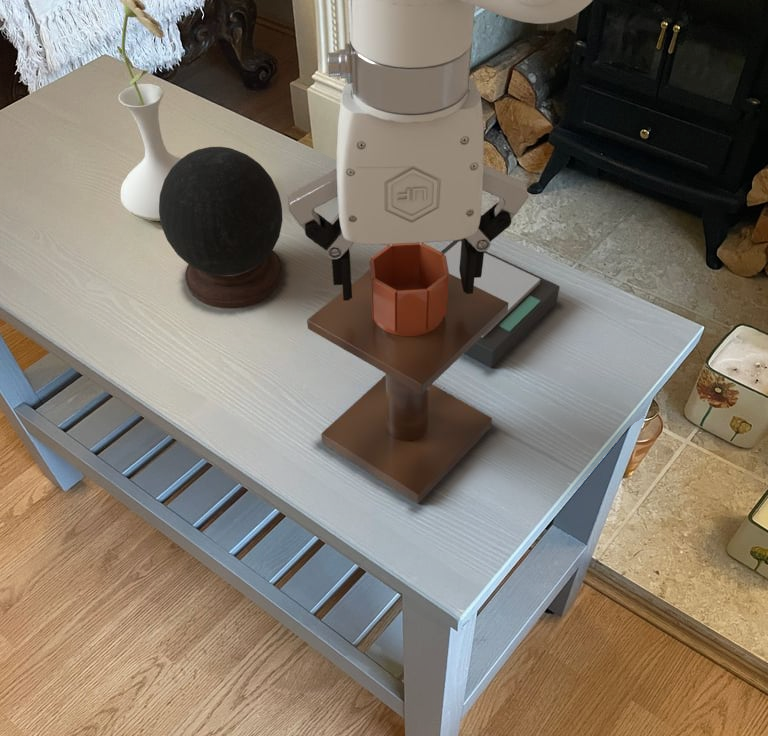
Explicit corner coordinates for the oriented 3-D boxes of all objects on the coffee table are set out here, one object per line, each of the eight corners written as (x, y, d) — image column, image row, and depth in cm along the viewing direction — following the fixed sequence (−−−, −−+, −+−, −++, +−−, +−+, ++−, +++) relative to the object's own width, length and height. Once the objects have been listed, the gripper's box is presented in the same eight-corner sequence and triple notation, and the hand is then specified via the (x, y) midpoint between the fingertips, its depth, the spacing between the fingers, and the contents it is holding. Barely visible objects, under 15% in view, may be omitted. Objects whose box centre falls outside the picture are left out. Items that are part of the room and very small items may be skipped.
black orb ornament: (300, 244, 97) (286, 125, 85) (277, 318, 90) (258, 199, 78) (195, 236, 99) (166, 117, 86) (163, 309, 91) (127, 190, 79)
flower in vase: (220, 221, 100) (173, 2, 80) (127, 237, 99) (56, 18, 78) (206, 163, 108) (160, -51, 87) (120, 177, 106) (53, -38, 85)
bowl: (440, 284, 69) (443, 240, 65) (449, 334, 65) (452, 290, 62) (369, 289, 69) (367, 244, 65) (374, 338, 65) (372, 294, 61)
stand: (491, 427, 80) (509, 302, 67) (417, 504, 75) (421, 385, 62) (397, 374, 85) (396, 246, 72) (321, 443, 80) (306, 319, 66)
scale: (556, 303, 91) (561, 281, 88) (491, 368, 85) (493, 347, 83) (456, 254, 96) (457, 233, 93) (388, 313, 90) (387, 291, 88)
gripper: (272, 107, 48) (299, 324, 62) (557, 94, 49) (520, 311, 63) (273, 45, 53) (298, 261, 67) (535, 34, 53) (505, 250, 67)
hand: (406, 285), depth 65 cm, fingers open, 9 cm apart
